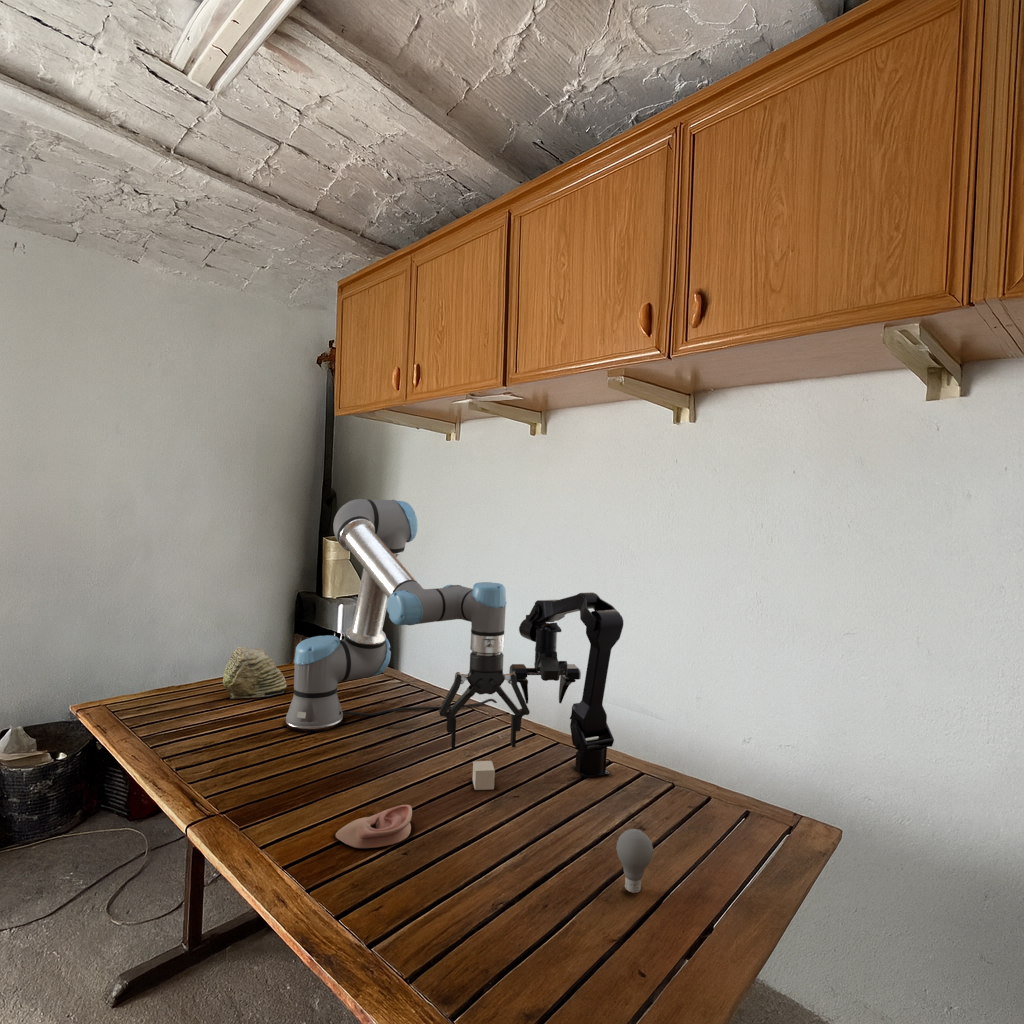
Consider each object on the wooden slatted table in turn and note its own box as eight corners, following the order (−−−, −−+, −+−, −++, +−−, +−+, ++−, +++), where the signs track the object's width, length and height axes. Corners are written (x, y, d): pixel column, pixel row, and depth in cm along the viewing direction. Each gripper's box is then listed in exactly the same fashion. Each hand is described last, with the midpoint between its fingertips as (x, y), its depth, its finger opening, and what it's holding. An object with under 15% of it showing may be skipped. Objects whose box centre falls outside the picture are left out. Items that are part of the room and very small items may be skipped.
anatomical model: (328, 822, 116) (356, 794, 127) (327, 843, 116) (355, 813, 127) (396, 832, 113) (418, 803, 124) (395, 855, 113) (418, 823, 124)
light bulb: (610, 879, 108) (613, 822, 108) (644, 879, 109) (647, 822, 109) (619, 902, 102) (622, 840, 102) (655, 901, 103) (658, 840, 103)
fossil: (218, 695, 195) (220, 647, 195) (278, 685, 208) (279, 640, 207) (228, 703, 189) (230, 653, 188) (289, 692, 201) (290, 645, 201)
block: (474, 790, 140) (475, 770, 140) (472, 779, 145) (473, 761, 145) (494, 789, 141) (494, 770, 141) (490, 779, 146) (491, 760, 146)
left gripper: (431, 656, 137) (427, 753, 137) (544, 656, 141) (540, 751, 141) (430, 647, 144) (426, 740, 144) (537, 648, 148) (534, 738, 148)
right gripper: (517, 653, 162) (514, 713, 162) (587, 653, 165) (584, 712, 166) (510, 643, 173) (507, 699, 173) (576, 643, 176) (573, 699, 177)
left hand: (483, 746), depth 143 cm, fingers open, 13 cm apart
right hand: (543, 703), depth 172 cm, fingers open, 9 cm apart
